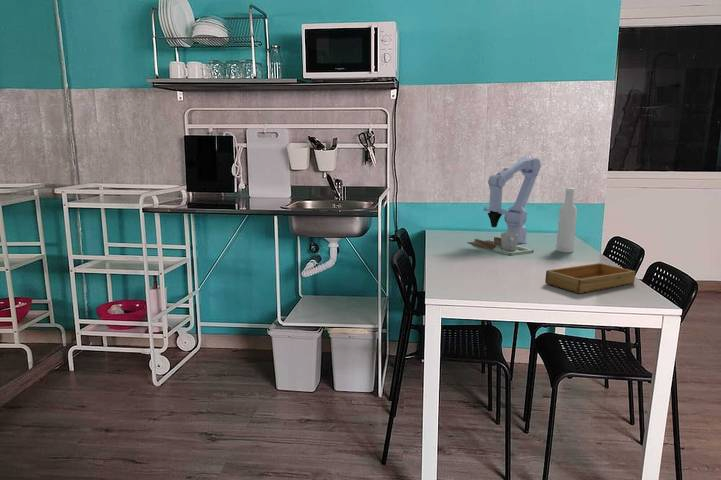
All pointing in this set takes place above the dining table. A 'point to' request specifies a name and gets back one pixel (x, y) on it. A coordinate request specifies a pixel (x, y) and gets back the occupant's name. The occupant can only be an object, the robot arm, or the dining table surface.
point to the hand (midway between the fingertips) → (493, 227)
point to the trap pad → (486, 240)
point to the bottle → (567, 224)
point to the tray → (589, 277)
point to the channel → (487, 243)
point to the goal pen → (515, 251)
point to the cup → (509, 241)
